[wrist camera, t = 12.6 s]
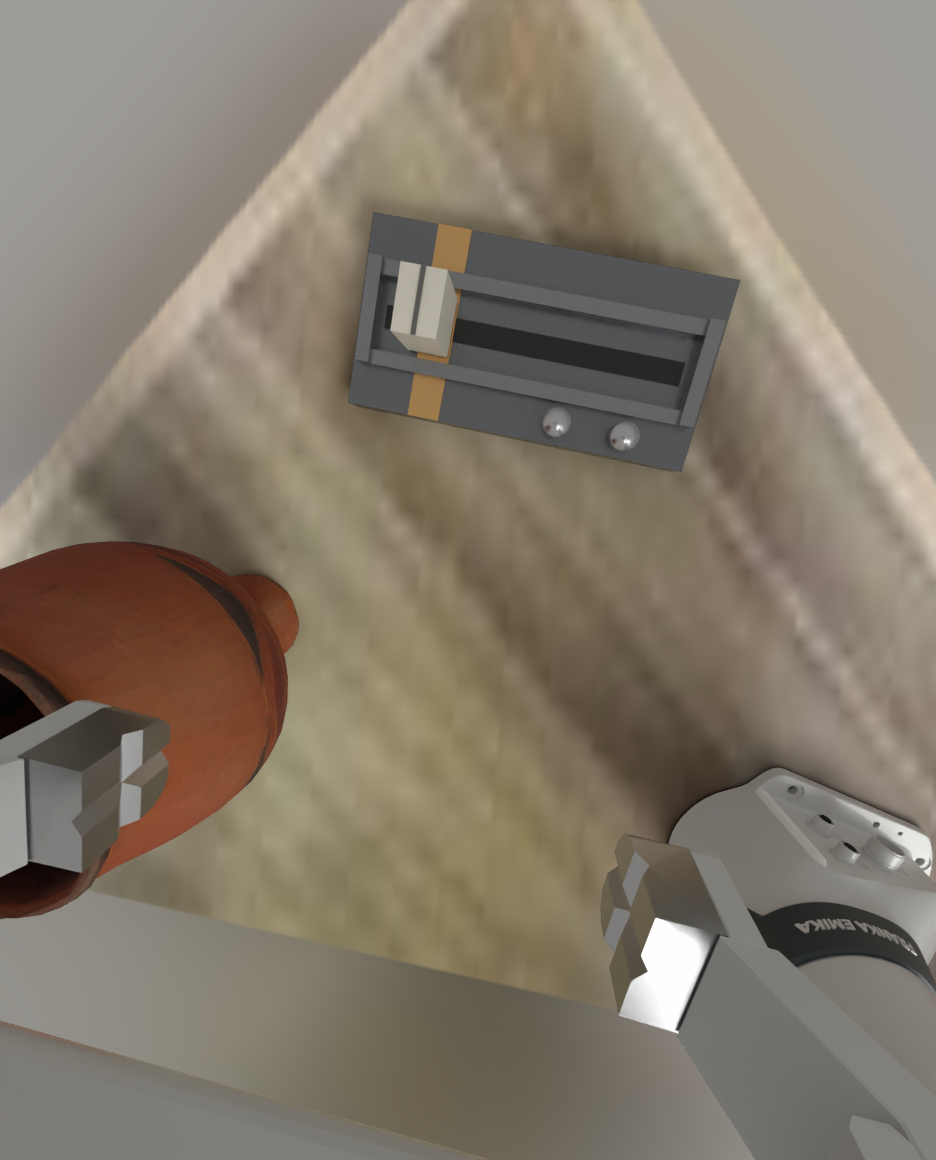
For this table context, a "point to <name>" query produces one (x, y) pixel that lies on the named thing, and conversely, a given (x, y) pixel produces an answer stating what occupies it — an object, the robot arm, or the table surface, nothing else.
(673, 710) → the table surface
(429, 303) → the fader cap
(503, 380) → the console
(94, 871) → the terracotta clay pot
